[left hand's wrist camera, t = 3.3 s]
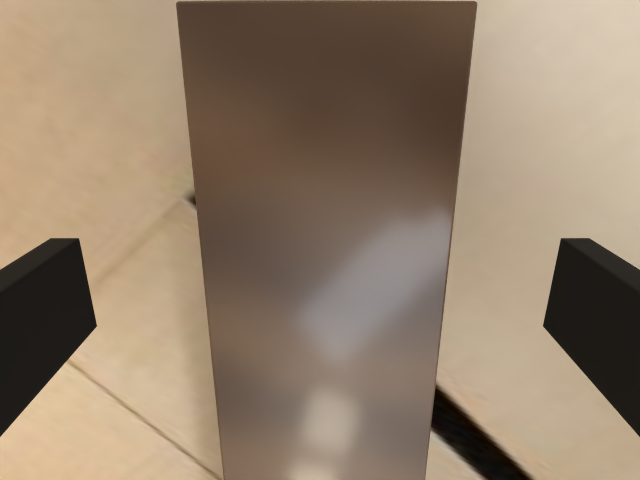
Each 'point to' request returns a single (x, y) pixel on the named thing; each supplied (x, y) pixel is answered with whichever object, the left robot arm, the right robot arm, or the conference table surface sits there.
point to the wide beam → (325, 224)
